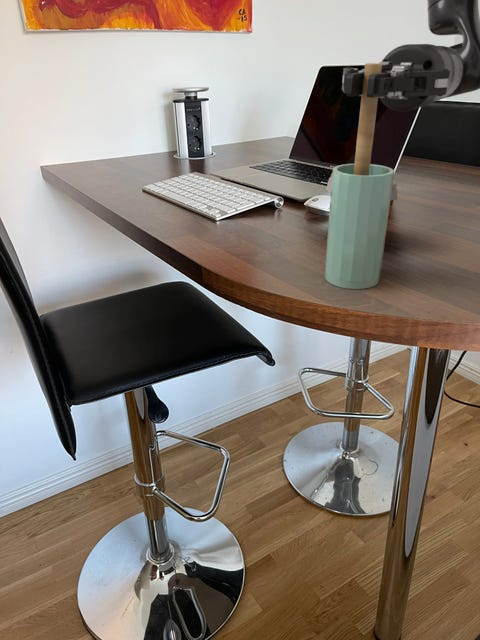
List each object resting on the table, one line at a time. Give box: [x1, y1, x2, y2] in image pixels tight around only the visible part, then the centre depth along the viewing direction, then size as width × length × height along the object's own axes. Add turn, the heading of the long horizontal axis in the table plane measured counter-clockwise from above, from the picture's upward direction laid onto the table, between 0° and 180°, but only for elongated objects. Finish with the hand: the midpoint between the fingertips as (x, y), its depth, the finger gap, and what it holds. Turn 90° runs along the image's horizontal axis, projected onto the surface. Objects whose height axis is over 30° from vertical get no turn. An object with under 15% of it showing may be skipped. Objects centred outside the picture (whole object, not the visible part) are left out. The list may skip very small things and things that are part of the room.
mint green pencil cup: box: [324, 163, 395, 290], centre depth 62 cm, size 7×7×14 cm
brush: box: [353, 62, 382, 175], centre depth 59 cm, size 4×4×20 cm
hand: (360, 85), depth 53 cm, fingers closed on brush, 2 cm apart
